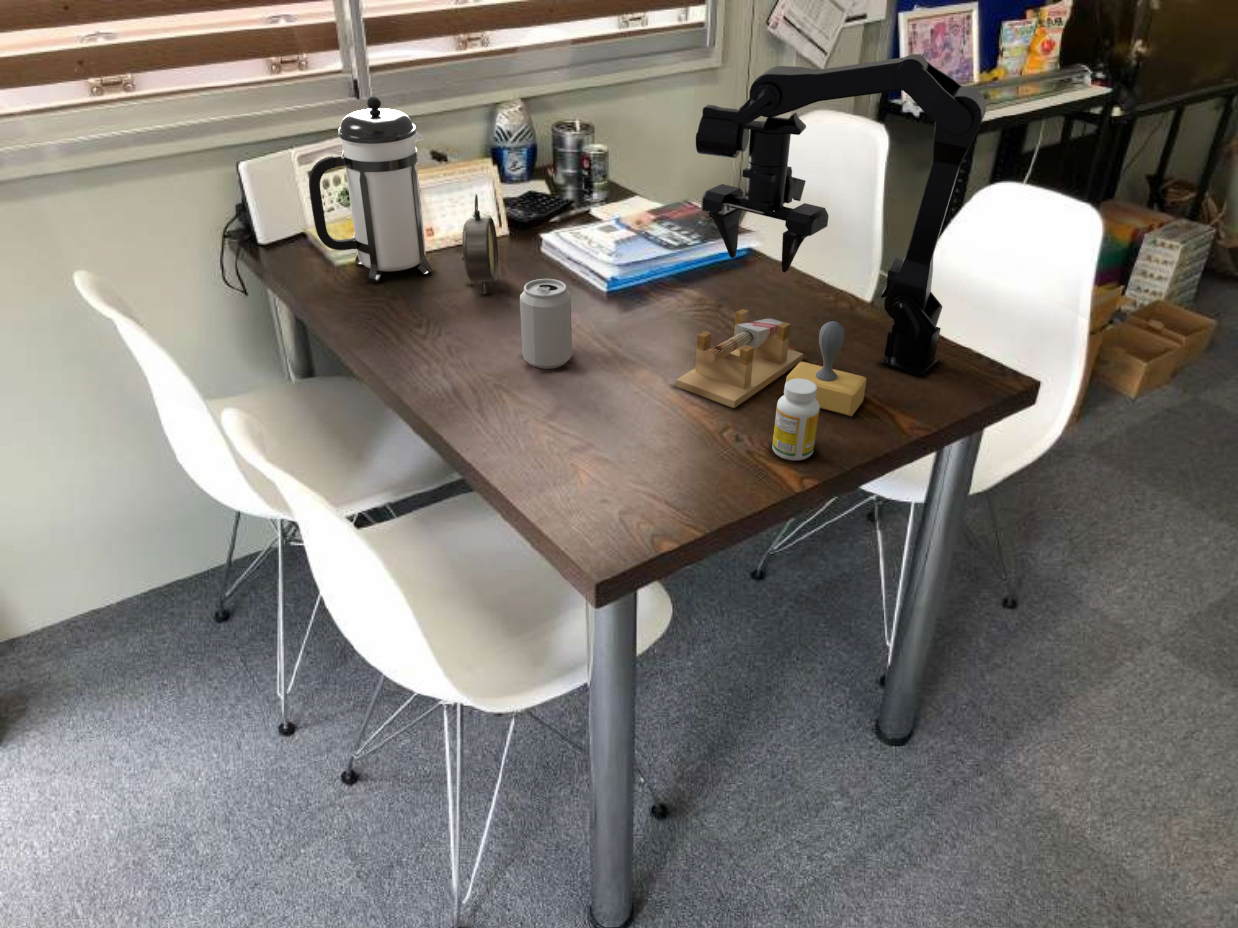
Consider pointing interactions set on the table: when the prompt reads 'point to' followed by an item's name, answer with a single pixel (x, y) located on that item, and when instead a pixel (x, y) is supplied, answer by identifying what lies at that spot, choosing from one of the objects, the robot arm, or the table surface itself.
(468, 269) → the alarm clock
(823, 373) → the rubber stamp
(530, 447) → the table surface
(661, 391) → the table surface
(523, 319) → the can
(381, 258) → the coffee press
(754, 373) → the brush rack
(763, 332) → the paintbrush
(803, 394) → the supplement bottle
